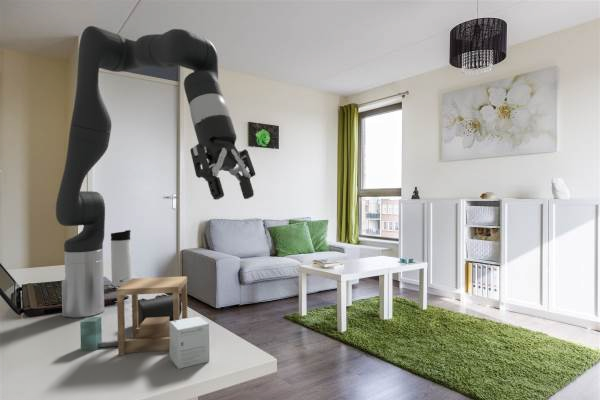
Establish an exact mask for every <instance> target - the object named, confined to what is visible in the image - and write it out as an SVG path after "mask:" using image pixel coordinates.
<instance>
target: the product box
mask: <svg viewBox="0 0 600 400" xmlns="http://www.w3.org/2000/svg"><path fill="white" fill-rule="evenodd" d="M209 326H210V325H209V322H208V321H206V320H205V319H204V318H202V317H200V316H194V317H188V318H185V319H182V318H181V319H180V320H175V321H170V322H169V329H170V350H169V359H170V360H171V362H173V363H174V365H175V367H176V368H177V369H178V370H179V369H182V368H183V369H185V368H187V367H192V366H196V365H200V364H204V363H208V362H209V361H210V327H209Z"/></svg>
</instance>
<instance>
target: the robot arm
mask: <svg viewBox="0 0 600 400" xmlns="http://www.w3.org/2000/svg"><path fill="white" fill-rule="evenodd" d="M79 40H80V41H79V46H78V55H77V56H78V57H77V75H76V77H77V79H76V90H75V98H74V104H73V110H72V116H71V120H70V127H69V133H68V143H67V152H66V158H65V159H66V160H65V165H64V170H63V174H62V177H61V180H60V181H61V182H60V186H59V189H58V194H57V196H56V197H57V199H56V204H55V217H56V220H57V222H58V223H59V225H61V226H64V227H76V226H83V228H82V229H81V231H80V232H79V233H78V234H76V235H74V236H72V237H71V238H68V239H67V240H65V242H64V243H63V250H64V251H63V252H64V279H63V280H62V281H61V307H62V310H61V312H62V317H68V318H86V317H93V316H95V315H98V314H102V312H104V311H105V290H104V289H105V288H104V287H105V282H104V252H103V251H104V249H103V247H104V245H103V243H104V240H105V230H106V229H105V225H106V223H105V221H106V206H105V205H106V203H105V200H104V197H103V195H102V194H101V193H99V192H97V191H93V190H92V191H90V190H89V191H87V190H86V191H84V190H83V191H81V189H82V185H83V184H84V183H83V182H84V180H85V178H86V176H87V175H88V173H89V172H90V171H91V170H92V168H94V166H95V165H96V164H97V163H98V162H99V161H100V160H101V159H102V157H103V156H104V154H106V152H107V150H108V148H109V145H110V144H109V143H110V139H111V131H112V120H111V119H112V118H111V116H110V113H109V111H108V108H107V106H106V104H105V102H104V99H103V98H102V94H101V91H100V88H99V87H100V85H99V73H100V69H102V70H105V71H110V72H114V73H121V72H126V71H131V70H134V69H140V68H153V69H154V68H155V69H158V68H159V69H171V68H175V67H177V66H180V67H181V68H185V69H188V70H191V71H193V72H190V73H189V74H188V75H186V76H185V78H184V81H183V88H184V92H185V95H186V99H187V102H188V107H189V112H190V118H191V122H192V125H193V128H194V132H195V135H196V140H197V142H198V143H197V144H196V145H194V146H193V147H191V148H190V151H189V152H190V155H191V159H192V163H193V167H194V172H195V176H196V178H198V179H200V178H203V179H204V181H205V182H207V185H208V189H209V192H210V195H211V196H212V200H220V199H222V198H224V196H225V193H224V192H225V191H224V189H223V186H222V182H221V180H220V179H221V178H220V177H218V175H219V172H221V171H224V172H228V173H229V174H230V176H231V175H232V176H234V177H235V178H236V179H237V181H238V182H239V184H238V185H239V187H240V192H241V193H242V196H243V197H242V198H243V199H244V200H249V199H251V198H252V197H254V194H255V193H254V192H255V191H254V188H253V185H252V182H251V178H253V177H254V176H256V171H255V167H254V165H253V162H252V160H251V156H250V153H249V151H248V150H247V149H246V148H245V149H243V150H239V151H238V149H237V147H236V146H235V144H236V141H237V134H236V131H235V130H236V129H235V128H234V124H233V120H232V118H231V115H230V111H229V109H228V106H227V102H226V101H225V99H224V96H223V92H222V89H221V86H220V83H219V61H218V60H219V57H218V52H217V49H216V47H215V46H214V44H213V43H212V42H211V40H209V39H207V38H205V37H203V36H201V35H198V34H196V33H193V32H191V31H188V30H185V29H181V28H180V29H179V28H173V29H169V30H167V31H166V32H163V33H161V34H158V33H157V34H156V33H154V34H153V33H152V34H146V35H141V36H140V37H138V38H137V39H136V40H132V39H128V38H127V37H123V36H121V35H120V34H117V33H116V32H115V33H114V32H112V31H109V30H106V29H104V28H100V27H98V26H94V25H88V26H86V27H85V28H84V30H83V32H82V34H81V37H80V39H79ZM237 165H238V166H237ZM247 169H248V170H247ZM240 172H241V173H240Z"/></svg>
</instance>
